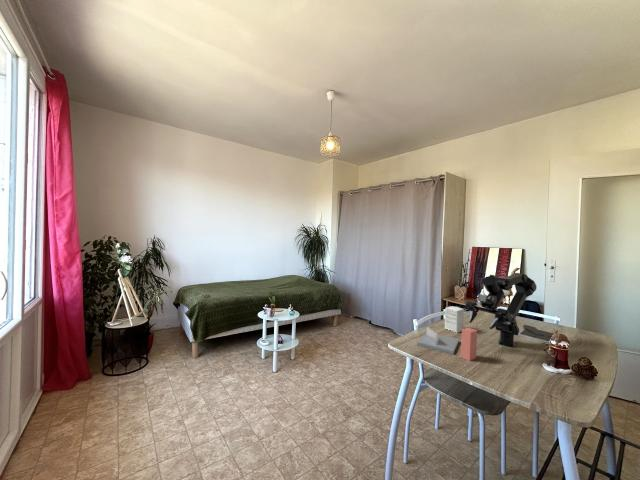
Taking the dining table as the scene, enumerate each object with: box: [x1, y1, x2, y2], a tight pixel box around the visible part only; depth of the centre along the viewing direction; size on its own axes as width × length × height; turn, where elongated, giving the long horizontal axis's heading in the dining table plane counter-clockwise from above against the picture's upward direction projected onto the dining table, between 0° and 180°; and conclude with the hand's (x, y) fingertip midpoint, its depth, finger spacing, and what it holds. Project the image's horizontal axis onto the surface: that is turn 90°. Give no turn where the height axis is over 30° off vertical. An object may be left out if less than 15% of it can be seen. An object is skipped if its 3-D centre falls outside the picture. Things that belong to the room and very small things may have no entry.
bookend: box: [426, 326, 440, 345], centre depth 134 cm, size 10×1×5 cm, turn 3°
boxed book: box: [460, 327, 478, 362], centre depth 119 cm, size 5×4×12 cm
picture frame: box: [514, 324, 555, 345], centre depth 148 cm, size 16×3×21 cm
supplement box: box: [444, 305, 465, 334], centre depth 154 cm, size 7×7×13 cm
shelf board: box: [416, 331, 460, 355], centre depth 134 cm, size 18×16×2 cm
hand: (479, 325), depth 123 cm, fingers open, 9 cm apart
